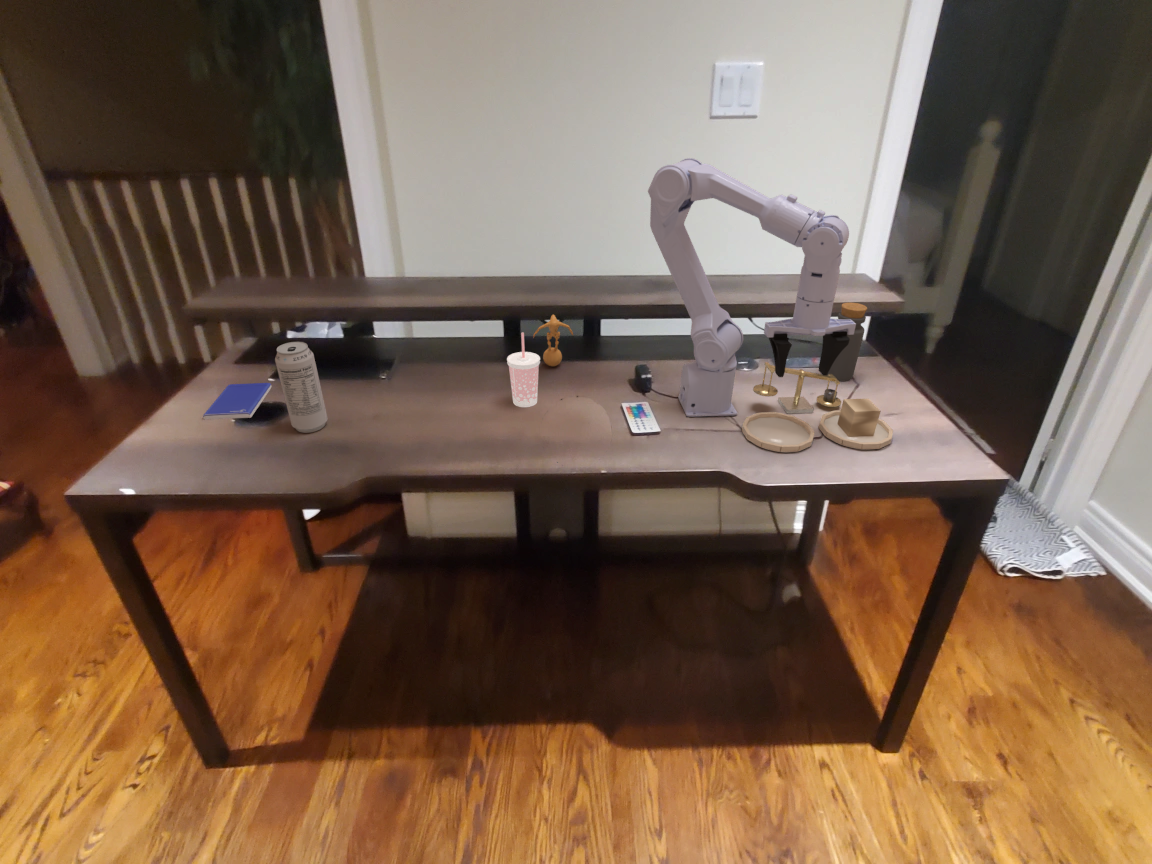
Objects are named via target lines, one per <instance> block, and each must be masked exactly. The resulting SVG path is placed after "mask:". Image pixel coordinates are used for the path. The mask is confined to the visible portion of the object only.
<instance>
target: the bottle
mask: <svg viewBox="0 0 1152 864" xmlns="http://www.w3.org/2000/svg"><path fill="white" fill-rule="evenodd" d="M867 310H868V307H867V306H866V305H865V304H862V303H857V302H843V303H842V304H841V311H840V312H838V314H837V319H843V320H852V321H853V322H855V323H856V326H855V331H854V334H853V335H848V334H847V336H848V337H849V338H850V340H849V344H848V345H847V346H846V347H845V348H844V349H843V350H842V351H841V353H840V354H839V355H838V357H837V358H836V359H835V361H834V363H833V365H832V366H831V368H830V370H829V372H828V374H827V375H829V374H832V375H833V376H834V377H835V378H836V379H837V380H838V381H839V382H849V381H851V380H852V379H853V377H854V374H855V369H856V367H857V362H858V359H859V356H860V355H859V354H860V350H861V347H862V344H863V343H862V342H863V338H864V333H865V328H864V327H863V326H862V324H865V322H866V315H865V314H866V312H867Z"/></svg>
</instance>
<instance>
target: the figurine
mask: <svg viewBox="0 0 1152 864" xmlns="http://www.w3.org/2000/svg"><path fill="white" fill-rule="evenodd" d="M549 319H550V320H548V322H546V323H544V324H542V325H540V326H539V327H537V329H536V330H535V332H534V333H533V336H532V338H533V339H534V338H535V337H536V335H537V334H538V333H539V331H540V330H542V329H545V328H548V330H549V332H547V333H546V340H547V345H548V347H547V349H546V350H545V351H544V352H543V355H542V359H543V362H544V363H545V365H547V366H548V367H557V366H558V365H560V363H561V362H562V359H563V354H562V352H561V350H560V349H558V345H559V343H560V342H559V341H558V340H559V339H560V336H561V332H560V331H559V328H560V327H563V328H567V330H568V331H569V332H570V334H571V336H574V333H573V330H572V329H571V327H570V325H568V324H566V323H564V322H561V321H559V320H558V319H557V317H556V315H555V314H552V315H551V316H550V318H549ZM552 337H553V338H554V339H555V342H554V343H555V347H552V346H551V345H552V342H551V341H550V340H552Z"/></svg>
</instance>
